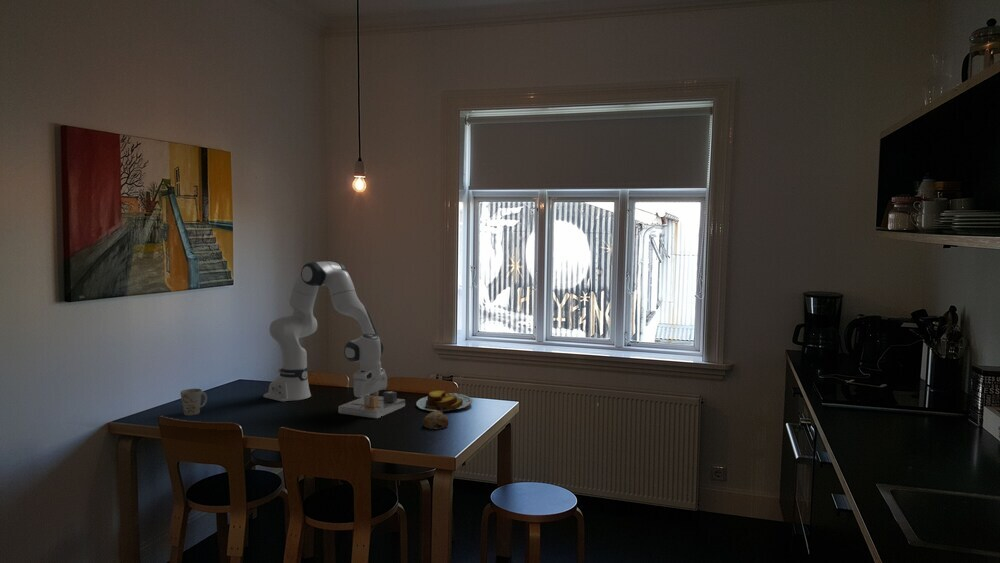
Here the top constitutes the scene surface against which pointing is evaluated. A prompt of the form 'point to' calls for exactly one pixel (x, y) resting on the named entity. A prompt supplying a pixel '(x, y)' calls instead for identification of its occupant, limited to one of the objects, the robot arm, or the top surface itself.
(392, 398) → the black fader
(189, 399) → the mug
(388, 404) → the mixing panel
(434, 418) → the bread roll
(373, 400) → the orange fader
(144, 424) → the top surface
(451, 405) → the food on plate
